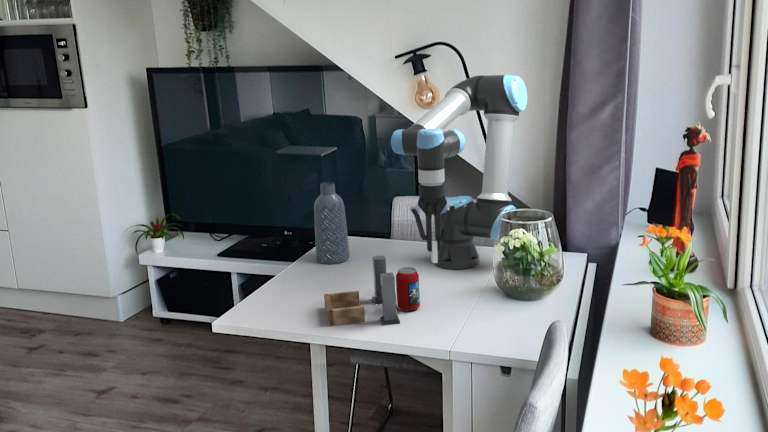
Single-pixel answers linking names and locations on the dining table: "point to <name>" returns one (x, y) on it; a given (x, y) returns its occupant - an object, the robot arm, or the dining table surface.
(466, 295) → the dining table surface
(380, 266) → the post far
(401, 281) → the beverage can
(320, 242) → the vase
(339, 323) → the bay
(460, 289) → the dining table surface
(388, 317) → the post near
